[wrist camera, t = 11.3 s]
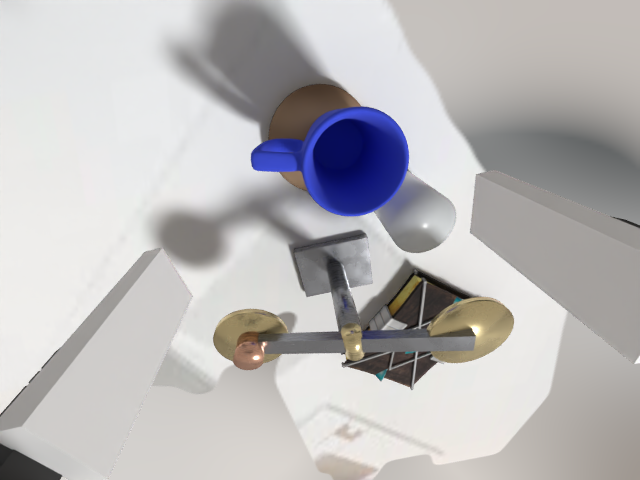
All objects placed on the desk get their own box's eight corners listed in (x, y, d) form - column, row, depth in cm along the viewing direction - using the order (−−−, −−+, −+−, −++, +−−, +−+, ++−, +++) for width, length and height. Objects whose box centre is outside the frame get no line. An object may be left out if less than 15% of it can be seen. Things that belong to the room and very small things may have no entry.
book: (406, 373, 54) (416, 398, 49) (337, 350, 48) (342, 376, 44) (486, 301, 45) (507, 323, 41) (415, 263, 40) (430, 285, 36)
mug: (259, 96, 26) (243, 100, 17) (379, 103, 27) (421, 110, 18) (264, 179, 30) (252, 216, 21) (368, 182, 31) (398, 217, 22)
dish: (256, 97, 27) (254, 97, 26) (362, 73, 27) (365, 73, 25) (283, 197, 32) (283, 201, 31) (371, 178, 32) (374, 181, 31)
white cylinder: (365, 174, 32) (389, 201, 24) (417, 163, 32) (458, 187, 24) (370, 220, 35) (392, 258, 27) (417, 210, 35) (453, 245, 27)
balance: (224, 263, 36) (181, 373, 22) (436, 219, 36) (529, 302, 22) (243, 305, 40) (217, 421, 26) (434, 265, 40) (512, 361, 26)
